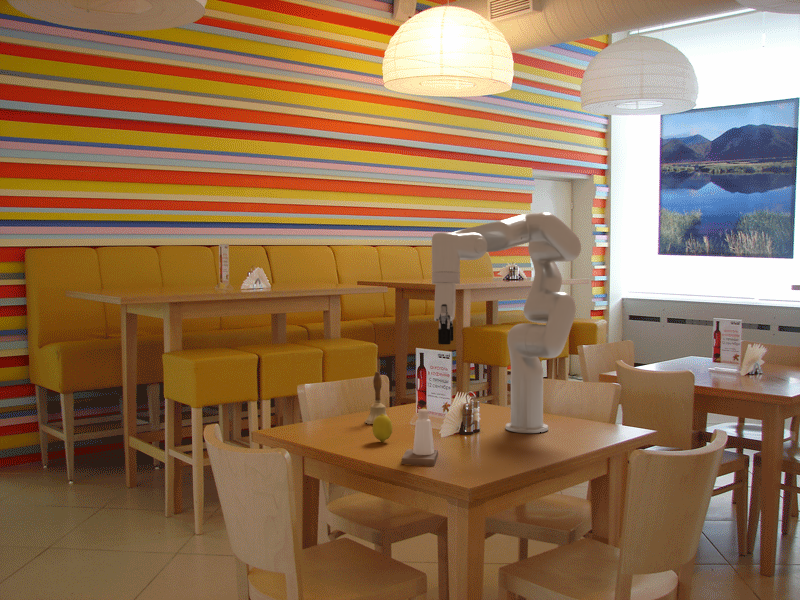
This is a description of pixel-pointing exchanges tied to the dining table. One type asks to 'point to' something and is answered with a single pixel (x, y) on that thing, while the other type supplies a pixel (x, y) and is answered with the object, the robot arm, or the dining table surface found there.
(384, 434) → the lemon
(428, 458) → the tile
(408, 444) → the dining table surface
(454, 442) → the dining table surface
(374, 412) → the hand bell
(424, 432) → the pepper shaker
